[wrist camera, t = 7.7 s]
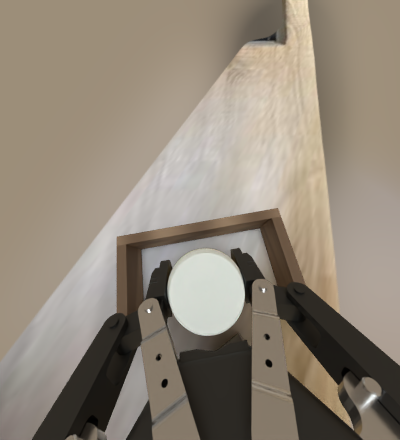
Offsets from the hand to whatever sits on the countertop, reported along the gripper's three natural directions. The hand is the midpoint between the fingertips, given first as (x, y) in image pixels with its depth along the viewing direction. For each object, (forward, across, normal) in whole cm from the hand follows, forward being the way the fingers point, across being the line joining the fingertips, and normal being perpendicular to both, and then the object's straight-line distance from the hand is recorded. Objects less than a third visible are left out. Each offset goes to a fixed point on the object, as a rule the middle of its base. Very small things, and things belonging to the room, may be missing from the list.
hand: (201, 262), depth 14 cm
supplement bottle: (+2, 0, +4) cm, 5 cm away
